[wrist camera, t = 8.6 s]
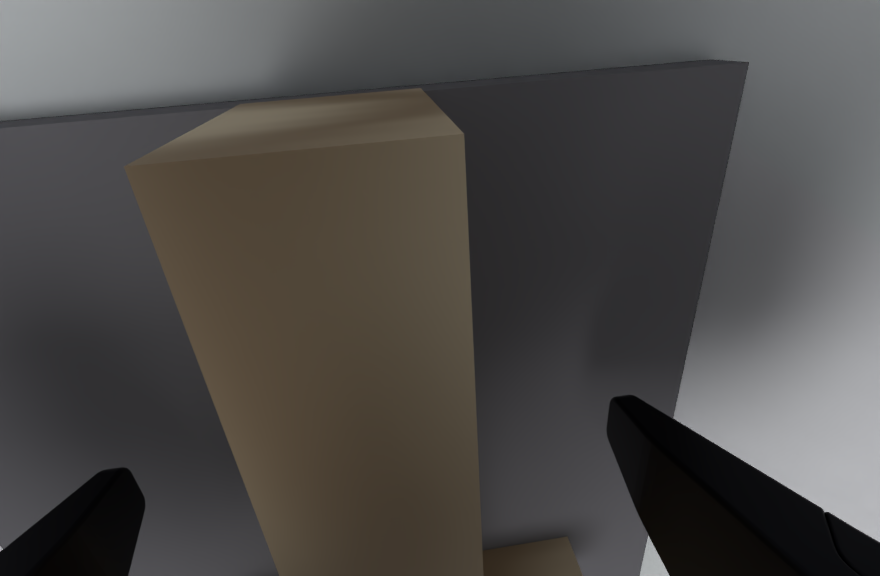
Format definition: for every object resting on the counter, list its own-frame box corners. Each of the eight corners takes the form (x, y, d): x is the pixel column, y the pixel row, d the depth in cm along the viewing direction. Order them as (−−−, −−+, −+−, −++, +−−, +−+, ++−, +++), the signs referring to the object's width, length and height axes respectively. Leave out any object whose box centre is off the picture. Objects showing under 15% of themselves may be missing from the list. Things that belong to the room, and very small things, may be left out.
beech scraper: (608, 72, 8) (801, 100, 4) (565, 562, 14) (629, 737, 11) (26, 122, 7) (-303, 208, 4) (251, 616, 13) (210, 823, 10)
